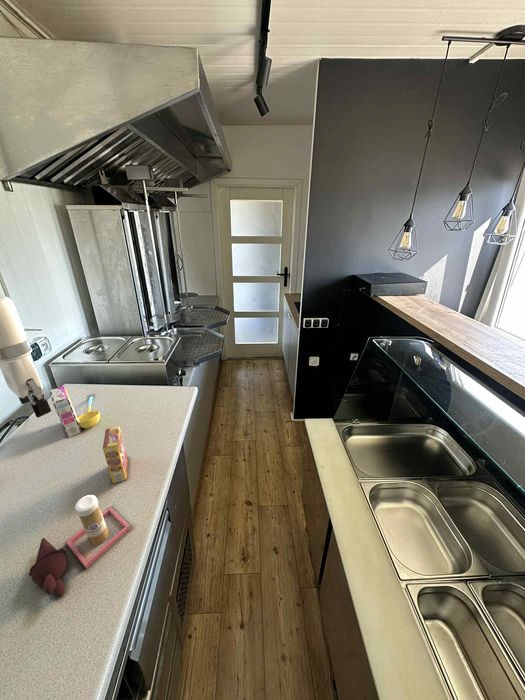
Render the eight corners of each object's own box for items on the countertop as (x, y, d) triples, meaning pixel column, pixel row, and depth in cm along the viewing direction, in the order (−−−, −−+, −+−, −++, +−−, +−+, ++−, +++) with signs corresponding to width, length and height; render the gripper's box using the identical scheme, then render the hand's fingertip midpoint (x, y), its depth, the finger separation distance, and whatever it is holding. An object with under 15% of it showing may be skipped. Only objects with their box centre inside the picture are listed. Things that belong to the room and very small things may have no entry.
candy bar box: (83, 432, 110) (68, 398, 102) (68, 438, 107) (51, 403, 99) (78, 418, 118) (64, 384, 110) (64, 423, 115) (49, 390, 107)
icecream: (16, 546, 67) (25, 608, 57) (50, 521, 70) (64, 576, 61) (35, 555, 71) (47, 614, 62) (66, 531, 74) (82, 584, 65)
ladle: (76, 435, 107) (71, 422, 106) (85, 410, 131) (80, 398, 129) (102, 426, 111) (97, 413, 109) (106, 403, 134) (101, 392, 132)
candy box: (128, 481, 90) (117, 444, 83) (113, 485, 89) (100, 448, 82) (129, 460, 98) (119, 425, 91) (115, 463, 96) (104, 428, 90)
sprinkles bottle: (93, 550, 71) (77, 515, 65) (87, 537, 74) (71, 502, 68) (112, 536, 74) (99, 502, 68) (105, 524, 77) (92, 490, 71)
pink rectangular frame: (87, 570, 68) (84, 566, 67) (68, 546, 73) (65, 541, 72) (131, 530, 76) (129, 525, 75) (111, 511, 81) (110, 506, 80)
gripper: (-22, 346, 69) (6, 403, 77) (3, 365, 60) (32, 428, 68) (16, 336, 75) (38, 390, 82) (44, 352, 66) (66, 411, 73)
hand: (36, 407), depth 75 cm, fingers open, 9 cm apart
